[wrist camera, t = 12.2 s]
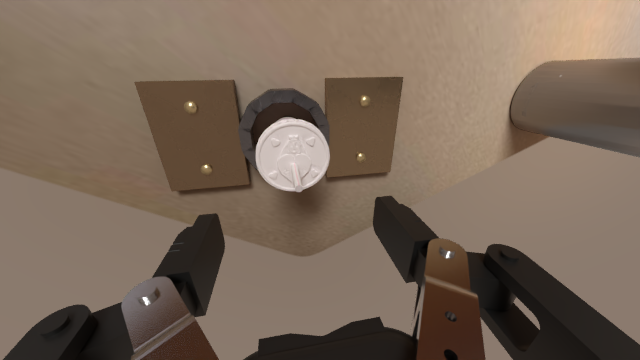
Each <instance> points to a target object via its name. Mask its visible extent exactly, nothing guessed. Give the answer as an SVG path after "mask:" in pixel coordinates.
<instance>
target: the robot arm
mask: <svg viewBox="0 0 640 360" xmlns="http://www.w3.org/2000/svg"><path fill="white" fill-rule="evenodd" d="M511 119H512V121H513V123H514V125H515V126H516V127H518V128H519V129H522V130H526V131H530V132H534V133H538V134H543V135H547V136H551V137H555V138H559V139H564V140H567V141H572V142H576V143H580V144H585V145H589V146H593V147H597V148H602V149H606V150H610V151H614V152H619V153H623V154H628V155H632V156H636V157H640V58H620V59H594V60H593V59H591V60H566V61H551V62H547V63H544V64H542V65H540V66H539V67H537V68H536V69H534V70H533V71H532V72H531V73H530V74H529V75H528V76H527V77H526V78H525V79H524V80H523V82H522V83H521V84H520V86H519V88H518V89H517V91H516V93H515V95H514V98H513V101H512V105H511ZM373 227H374V231H375V233H376V235H377V236H378V238H379V239H380V241H381V243H382V244H383V246H384V248H385V249H386V251H387V253H388V254H389V256H390V257H391V259H392V261H393V262H394V264H395V266H396V267H397V269H398V271H399V272H400V274H401V276H402V277H403V279H404V281H405V282H406V283H409V282H415V281H416V283H417V284H418V288H417V293H416V300H415V306H414V312H413V319H412V326H411V331H410V335H408V334H406V333H404V332H402V331H399V330H396V329H393V328H388V327H384V326H383V324H382V322H381V319H380V317H376V318H371V319H366V320H360V321H355V322H351V323H349V324H347V325H345V326H343V327H341V328H339V329H337V330H335V331H333V332H331V333H329V334H327V335H325V336H312V335H301V334H285V335H280V336H274V337H269V338H264V339H259V346H258V351H257V352H255V353H253V354H251V355H250V356H248V357H246V358H245V359H244V360H485V352H484V343H483V335H482V327H481V318H482V320H483V321H484V322H485V323H486V325H487V326H488V327H489V329H490V330H491V331H492V333H493V334H494V335H495V337H496V338H497V339H498V340H499V342H500V343H501V344H502V346H503V347H504V348H505V350H506V351H507V352H508V354H509V355H510V356H511V357H512V359H513V360H640V345H639V344H638V343H637V342H635V341H634V340H633V339H632V338H630V337H629V336H627V335H626V334H625V333H624V332H623V331H621V330H620V329H619V328H618V327H616V326H615V325H614V324H613V323H611V322H610V321H609V320H607V319H606V318H605V317H604V316H602V315H601V314H600V313H599V312H597V311H596V310H595V309H593V308H592V307H591V306H589V305H588V304H587V303H586V302H585V301H583V300H582V299H581V298H579V297H578V296H577V295H576V294H574V293H573V292H572V291H571V290H569V289H568V288H567V287H565V286H564V285H563V284H562V283H560V282H559V281H558V280H557V279H555V278H554V277H553V276H552V275H550V274H549V273H548V272H546V271H545V270H544V269H543V268H541V267H540V266H539V265H538V264H536V263H535V262H534V261H532V260H531V259H530V258H529V257H527V256H526V255H525V254H523V253H522V252H520V251H518V250H517V249H515V248H512V247H509V246H506V245H501V244H492V245H490V246H488V248H487V250H486V253H485V254H483V253H472V252H466V251H465V250H464V249H463V248H462V247H461V246H460V245H459V244H456V243H455V242H453V241H450V240H448V239H441V238H439V237H438V236H437V235H436V234H435V233H434V232H433V231H432V230H431V229H430V228H429V227H428V226H427V225H426V224H425V223H424V222H423V221H422V220H421V219H420V218H419V217H418V216H417V215H416V214H415V213H414V212H413V211H412V210H411V209H410V208H408V207H407V206H405V205H403V204H399V203H398V202H397V201H396V200H395V199H394V198H393V197H392V196H384V197H377V198H376V200H375V208H374V217H373ZM224 249H225V243H224V236H223V233H222V229H221V225H220V221H219V217H218V215H217V214H216V213H215V214H206V215H199V216H198V218H197V219H196V221H195V223H194V225H193V226H192V227H187V228H186V229H184V230H183V231H182V232H181V233H180V234H178V236H177V237H176V239H175V241H174V242H173V245H172V246H171V247H170V249H169V252H168V253H167V254H166V256H165V257H164V259H163V260H162V262H161V264H160V265H159V267H158V269H157V270H156V272H155V274H154V275H153V277H152V278H151V279H148V280H146V281H144V282H142V283H140V284H138V285H137V286H136V287H134V288H133V289H132V290H131V291H130V292H129V293H128V294H127V295H126V296H125V298H124V299H123V301H122V302H121V303H118V304H115V305H113V306H110V307H107V308H105V309H102V310H99V311H97V312H94V313H91V311H90V310H89V308H88V307H87V306H85V305H73V306H69V307H66V308H63V309H61V310H58V311H57V312H54V313H52V314H51V315H49V316H47V317H46V318H44V319H43V320H41V321H40V322H39V323H37V324H36V325H35V326H34V327H32V328H31V330H30V331H28V332H27V333H26V335H25V336H24V337H23V338H22V339H21V340H20V341H19V342H18V343H17V345H16V346H15V347H14V348H13V349H12V350H11V351H10V352H9V354H8V355H7V356H6V357H5V358H4V359H3V360H219V359H218V357H217V355H216V354H215V352H214V350H213V349H212V347H211V345H210V343H209V341H208V340H207V338H206V336H205V335H204V333H203V331H202V329H201V328H200V326H199V324H198V322H197V321H196V319H195V317H198V316H204V315H206V311H207V308H208V304H209V301H210V298H211V294H212V291H213V287H214V284H215V281H216V277H217V274H218V271H219V267H220V264H221V260H222V257H223V254H224ZM516 297H517V298H518V299H519V300H520V301H521V302H522V303H524V305H525V306H526V307H527V308H529V310H530V311H532V313H533V314H534V315H535V316H536V318H537V319H538V321H539V324H540V330H539V329H538V328H537V327H536V326H535V325H534V324H533V323H532V322H531V321H530V320H529V319H528V318H527V317H526V316H525V315H524V314H523V312H522V311H521V310H520V309H519V308H518V307H517V306H516V305H515V304H514V303H513V302H514V300H515V298H516ZM480 317H481V318H480Z"/></svg>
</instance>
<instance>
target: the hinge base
mask: <svg viewBox="0 0 640 360" xmlns="http://www.w3.org/2000/svg"><path fill="white" fill-rule="evenodd" d="M402 82H403V77H366V78H325V115H324V113H323V111H322V110H321V108H320V106H319V104H318V103H317V102H316V101H314V100H313V99H311V98H309V97H308V96H306V95H304V94H302V93H301V92H299V91H297V90H295V89H293V88H292V89H270V90H267V91H266V92H264V93H263V94H262V95H260V96H259V97H257V98H256V99H254V100H253V101H251V102H250V103H249V104H248V106H247V108H246V110H245V113H244V115H243V117H242V120H241V121H240V114H239V108H238V102H237V96H236V90H235V84H234V80H200V81H145V82H135V85H136V88H137V91H138V94H139V97H140V100H141V103H142V106H143V109H144V112H145V114H146V117H147V120H148V123H149V126H150V129H151V132H152V135H153V138H154V141H155V144H156V147H157V150H158V153H159V155H160V158H161V161H162V164H163V167H164V170H165V173H166V176H167V179H168V182H169V185H170V188H171V191H181V190H192V189H203V188H214V187H226V186H237V185H248V184H250V176H249V170H248V163H247V159H248V160H249V161H250V163H251V164H252V165H253V166H254V167H255V169H256V170H257V169H258V168H257V165H256V146H257V145H256V144H255V143H254V136H253V129H252V125H253V123H254V120H255V118H256V116H257V114H258V113H259V112H261V111H262V110H264V109H265V108H267V107H268V106H270V105H271V104H273V103H287V102H293V103H295V104H297V105H299V106H301V107H302V108H304V109H306V110H308V111H309V113H310V114H311V116H312V118H313V119H314V121H315V123H316V128H318V129H319V130H320V132H321V133H322V134H323V136H324V137H325V139H326V142H327V144H328V147H329V152H330V160H329V165H328V168H327V170H326V172H325V174H326V176H327V177H338V176H350V175H361V174H372V173H383V172H390V170H391V163H392V156H393V148H394V141H395V134H396V126H397V119H398V112H399V104H400V97H401V90H402Z"/></svg>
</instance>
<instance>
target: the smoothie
mask: <svg viewBox="0 0 640 360" xmlns="http://www.w3.org/2000/svg"><path fill="white" fill-rule="evenodd" d="M329 160H330V152H329V147H328V144H327V142H326V139H325V137H324V136H323V134H322V133H321V132H320V130H319V129H318V128H316V127H315V126H314V125H313V124H311V123H309V122H306V121H304V120H300V119H295V118H292V117H283V118H280V119H279V120H277V121H276V122H275V123H274V124H272V125H271V126H269V127H268V128H267V129H266V130H265V131H264V132H263V133H262V135H261V136H260V138H259V140H258V143H257V146H256V165H257V168H258V171H259V172H260V174H261V176H262V177H263V178H264V180H265V181H266V182H268V183H269V184H270V185H272V186H273V187H275V188H277V189H280V190H284V191H297V192H301V191H302V190H304V189H307V188H309V187H311V186H313V185H314V184H316V183H317V182H318V181H319V180H320V179H321V178H322V177H323V176H324V174H325V172H326V170H327V168H328V165H329Z"/></svg>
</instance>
